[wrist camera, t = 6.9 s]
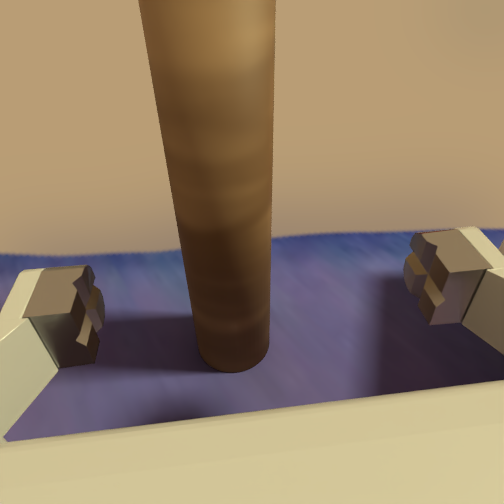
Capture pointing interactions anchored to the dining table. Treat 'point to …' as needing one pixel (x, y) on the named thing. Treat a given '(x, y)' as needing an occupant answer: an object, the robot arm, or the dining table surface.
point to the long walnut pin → (219, 162)
